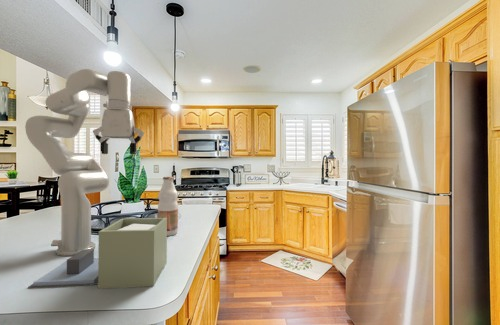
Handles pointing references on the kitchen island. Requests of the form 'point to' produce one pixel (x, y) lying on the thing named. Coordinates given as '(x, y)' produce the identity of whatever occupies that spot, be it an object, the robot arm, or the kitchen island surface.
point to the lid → (73, 271)
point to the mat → (63, 285)
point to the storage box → (132, 253)
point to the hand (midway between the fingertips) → (118, 154)
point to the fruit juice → (169, 205)
